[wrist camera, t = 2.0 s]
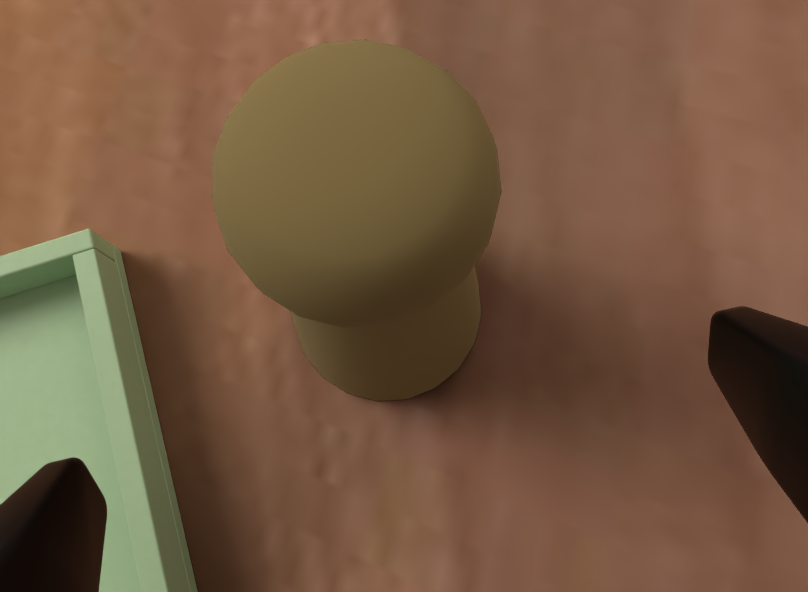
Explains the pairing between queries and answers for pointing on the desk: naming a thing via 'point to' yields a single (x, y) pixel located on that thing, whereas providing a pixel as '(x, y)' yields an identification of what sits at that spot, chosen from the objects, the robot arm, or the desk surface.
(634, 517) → the desk surface
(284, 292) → the olive brown pawn
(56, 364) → the tray
